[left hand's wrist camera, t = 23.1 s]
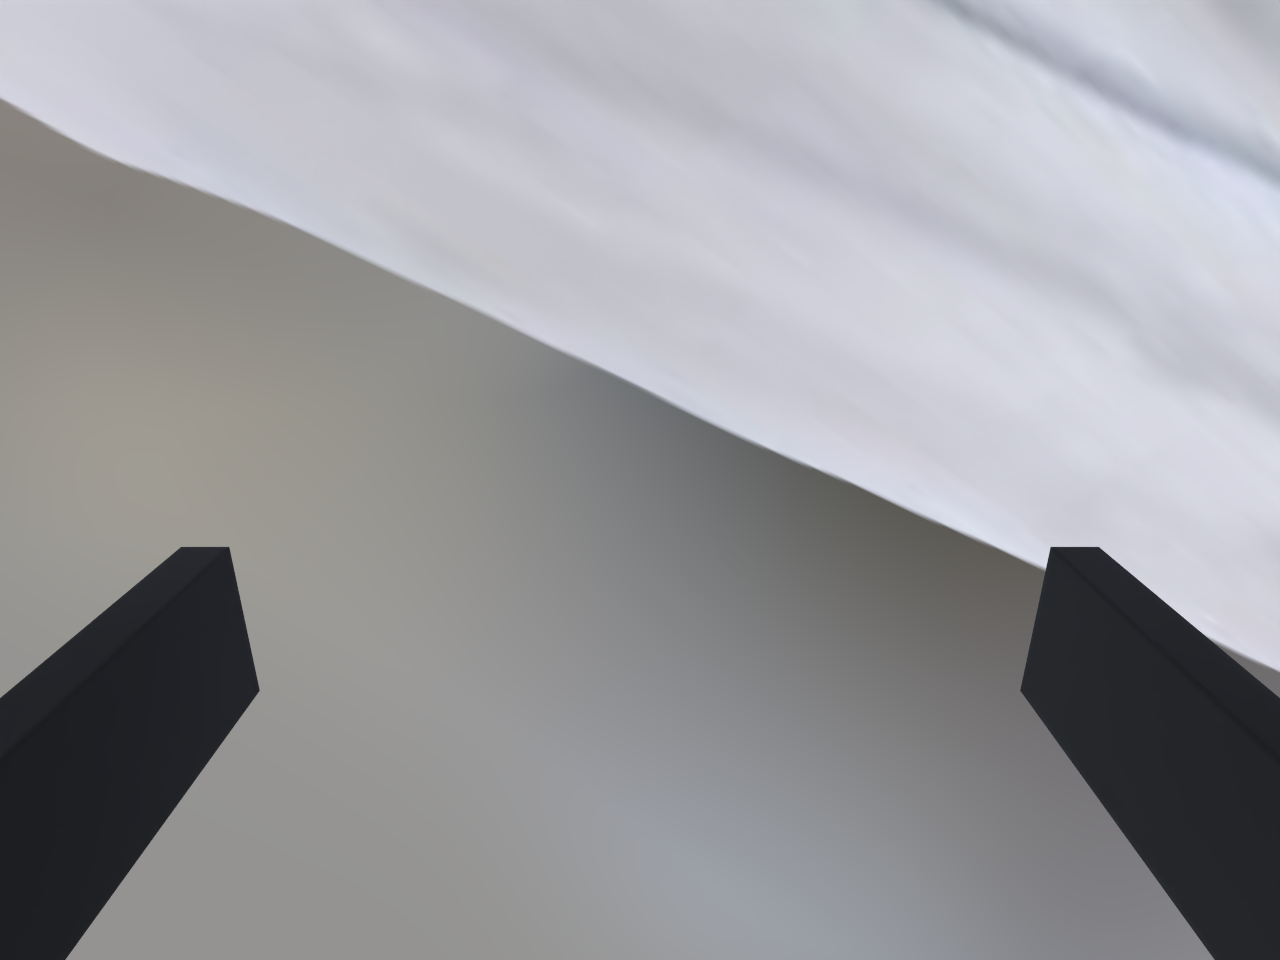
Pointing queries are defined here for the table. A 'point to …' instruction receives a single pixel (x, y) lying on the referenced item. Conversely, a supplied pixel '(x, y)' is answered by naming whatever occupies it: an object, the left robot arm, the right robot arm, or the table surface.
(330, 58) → the table surface
